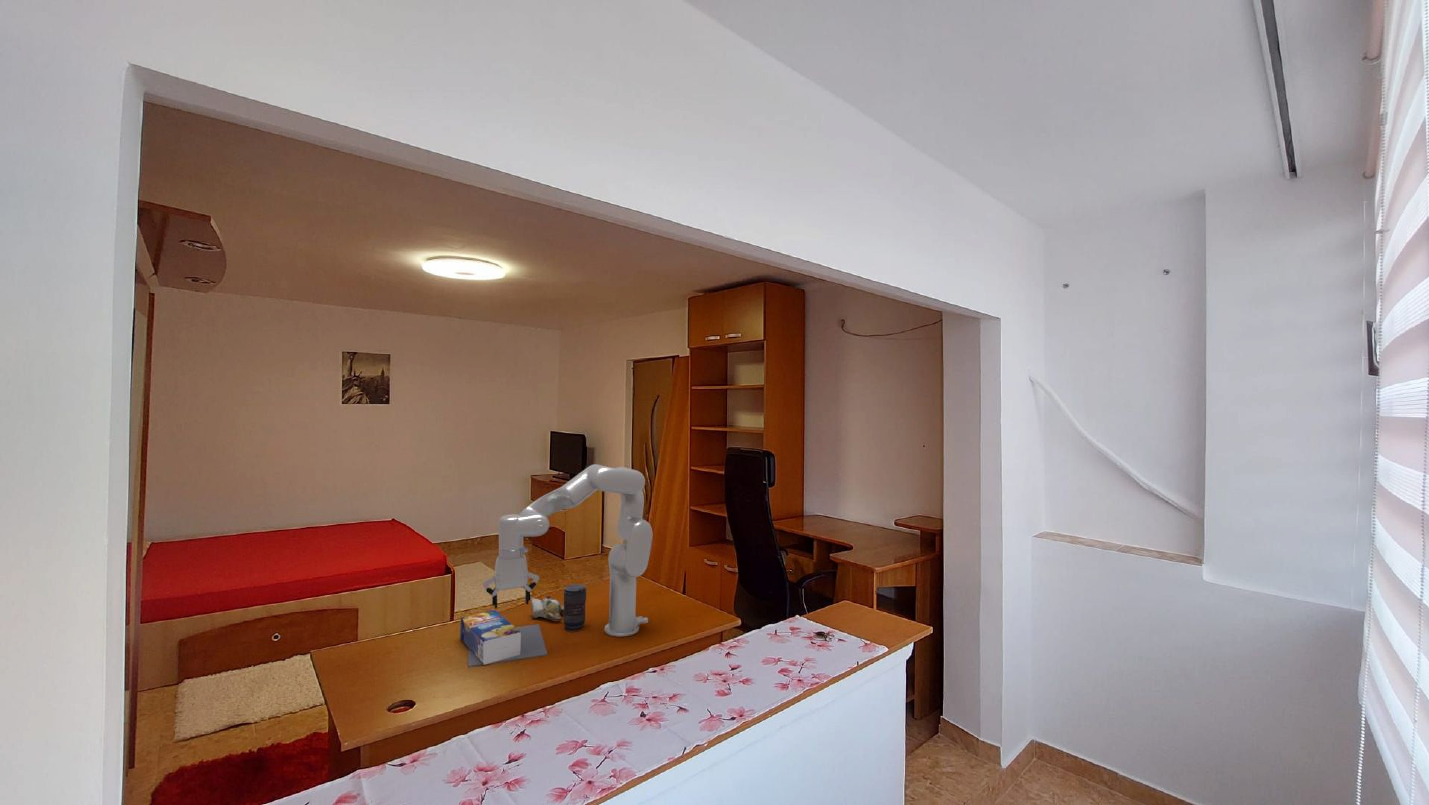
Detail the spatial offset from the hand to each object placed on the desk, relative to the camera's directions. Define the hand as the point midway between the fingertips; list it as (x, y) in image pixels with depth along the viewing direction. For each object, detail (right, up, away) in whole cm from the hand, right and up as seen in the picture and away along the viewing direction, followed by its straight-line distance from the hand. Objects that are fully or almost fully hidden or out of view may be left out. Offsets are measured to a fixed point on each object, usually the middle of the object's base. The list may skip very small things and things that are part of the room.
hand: (511, 605), depth 185 cm
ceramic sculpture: (+3, -17, +33) cm, 37 cm away
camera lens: (+14, -17, +25) cm, 33 cm away
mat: (-5, -17, +9) cm, 20 cm away
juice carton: (-2, -13, -3) cm, 13 cm away
